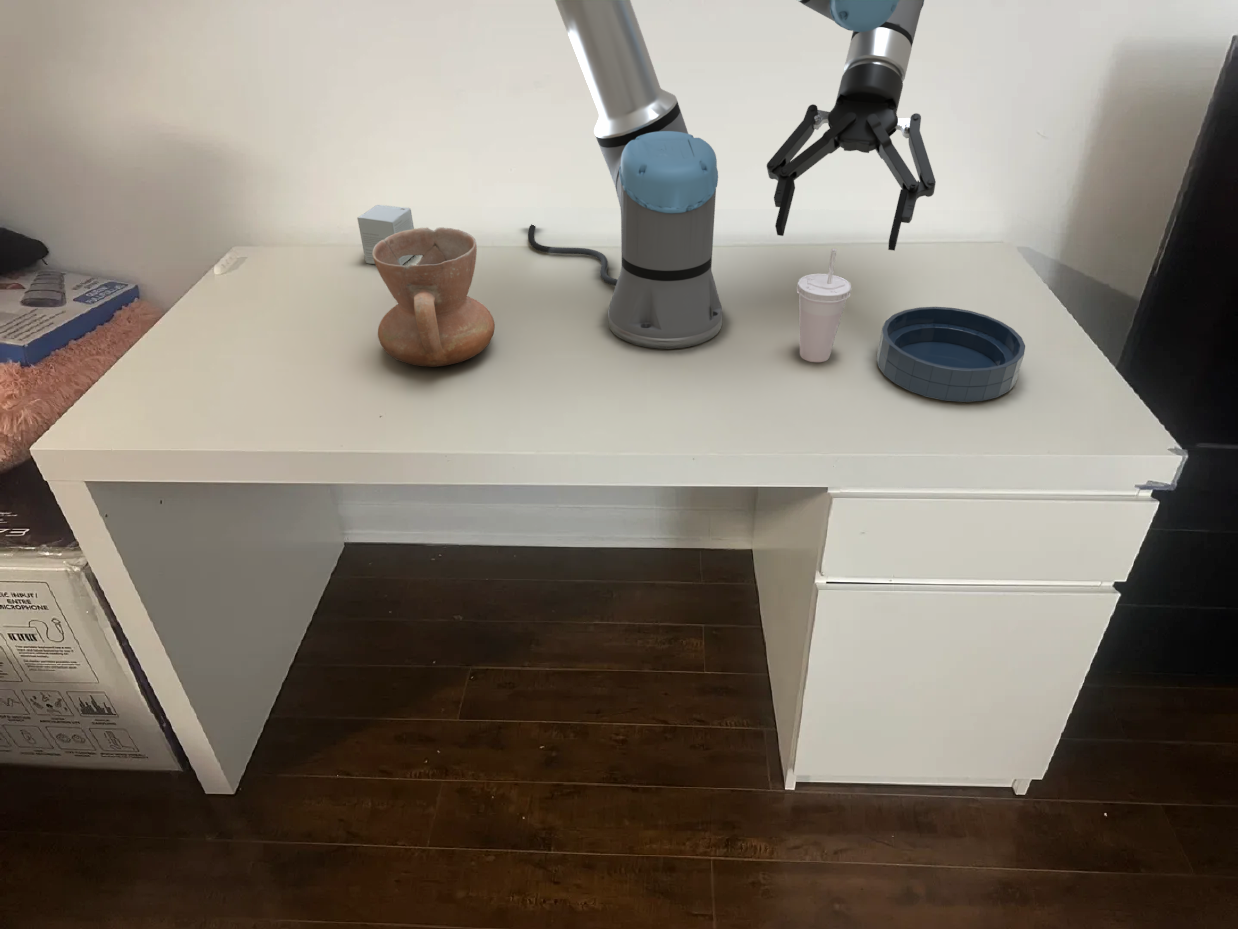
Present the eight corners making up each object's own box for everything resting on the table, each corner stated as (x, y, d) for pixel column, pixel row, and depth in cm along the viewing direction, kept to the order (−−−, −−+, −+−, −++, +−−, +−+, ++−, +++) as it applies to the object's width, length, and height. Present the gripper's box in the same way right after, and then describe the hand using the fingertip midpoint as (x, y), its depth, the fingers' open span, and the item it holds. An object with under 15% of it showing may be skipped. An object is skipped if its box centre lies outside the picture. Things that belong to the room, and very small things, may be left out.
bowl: (851, 351, 110) (856, 319, 108) (956, 329, 115) (964, 298, 112) (930, 416, 98) (938, 381, 95) (1045, 389, 103) (1056, 355, 100)
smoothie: (840, 369, 107) (857, 262, 98) (787, 365, 108) (800, 258, 99) (840, 345, 112) (856, 240, 103) (789, 340, 113) (802, 237, 104)
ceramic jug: (393, 322, 118) (374, 220, 110) (500, 318, 119) (489, 217, 110) (370, 391, 104) (347, 280, 95) (492, 386, 104) (480, 275, 96)
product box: (384, 248, 139) (376, 203, 135) (419, 252, 137) (412, 207, 133) (364, 263, 134) (355, 217, 130) (400, 268, 133) (392, 221, 128)
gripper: (975, 104, 108) (938, 264, 105) (776, 88, 115) (738, 237, 113) (982, 67, 101) (944, 238, 98) (771, 52, 108) (730, 211, 106)
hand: (834, 238), depth 106 cm, fingers open, 13 cm apart
